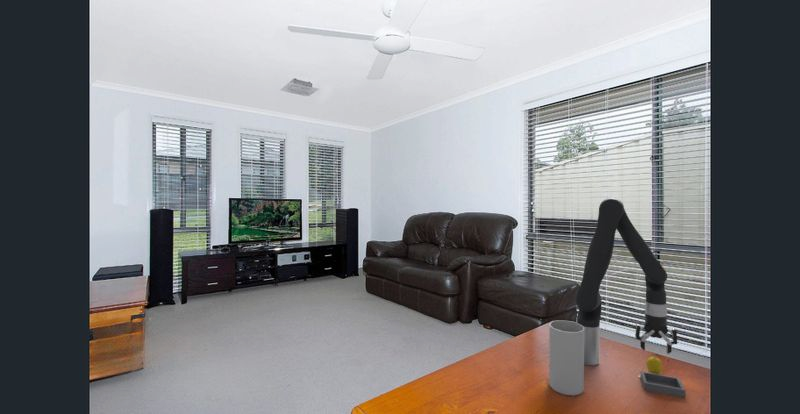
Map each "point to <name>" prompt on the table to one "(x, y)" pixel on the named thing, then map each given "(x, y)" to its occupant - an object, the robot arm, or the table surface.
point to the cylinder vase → (566, 357)
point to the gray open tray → (662, 384)
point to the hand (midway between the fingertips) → (655, 351)
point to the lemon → (654, 365)
